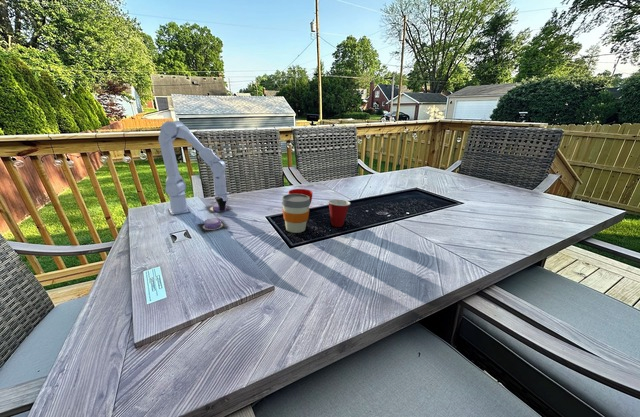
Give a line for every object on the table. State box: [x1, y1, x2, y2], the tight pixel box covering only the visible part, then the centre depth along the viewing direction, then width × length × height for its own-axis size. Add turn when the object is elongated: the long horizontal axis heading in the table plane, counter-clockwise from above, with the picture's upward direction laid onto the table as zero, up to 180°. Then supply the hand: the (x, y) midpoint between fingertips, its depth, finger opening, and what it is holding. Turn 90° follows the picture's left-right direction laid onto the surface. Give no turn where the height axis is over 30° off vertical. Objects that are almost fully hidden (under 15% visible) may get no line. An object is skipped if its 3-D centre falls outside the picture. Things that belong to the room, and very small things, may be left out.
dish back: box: [211, 202, 228, 213], centre depth 138 cm, size 7×7×3 cm
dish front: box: [203, 217, 222, 229], centre depth 118 cm, size 7×7×2 cm
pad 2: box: [197, 220, 228, 234], centre depth 118 cm, size 10×10×1 cm
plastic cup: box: [327, 198, 351, 228], centre depth 125 cm, size 11×11×12 cm
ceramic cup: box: [288, 188, 313, 207], centre depth 141 cm, size 13×17×10 cm
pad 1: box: [205, 205, 231, 214], centre depth 140 cm, size 10×10×1 cm
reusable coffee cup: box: [281, 193, 311, 234], centre depth 118 cm, size 13×12×15 cm
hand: (222, 210), depth 135 cm, fingers closed
